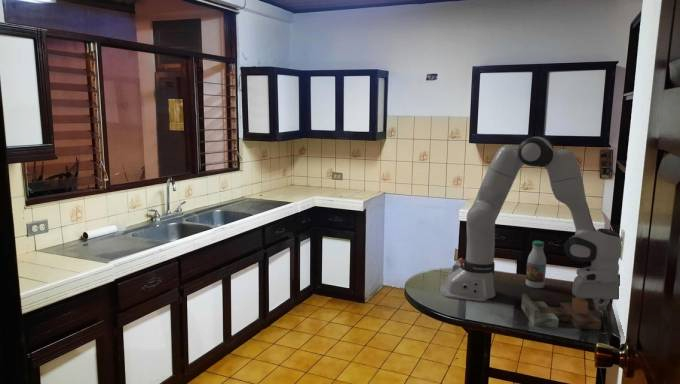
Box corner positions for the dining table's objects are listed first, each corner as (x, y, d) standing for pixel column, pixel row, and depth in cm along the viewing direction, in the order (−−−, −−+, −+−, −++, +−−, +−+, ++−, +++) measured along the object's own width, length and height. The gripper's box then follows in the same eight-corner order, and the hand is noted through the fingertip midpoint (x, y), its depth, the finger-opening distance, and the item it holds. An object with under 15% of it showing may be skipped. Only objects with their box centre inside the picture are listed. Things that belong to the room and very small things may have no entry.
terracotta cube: (575, 313, 177) (576, 301, 176) (571, 309, 181) (572, 297, 180) (586, 314, 177) (588, 302, 176) (582, 309, 181) (583, 298, 180)
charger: (477, 268, 236) (472, 277, 223) (458, 265, 240) (452, 274, 227) (478, 258, 236) (472, 267, 222) (459, 256, 239) (452, 264, 226)
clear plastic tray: (533, 326, 173) (534, 310, 172) (521, 308, 189) (522, 293, 188) (600, 329, 171) (602, 313, 170) (582, 310, 187) (583, 296, 186)
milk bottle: (528, 281, 218) (531, 238, 215) (546, 285, 214) (550, 241, 211) (523, 286, 212) (526, 242, 209) (541, 290, 208) (545, 245, 204)
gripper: (629, 271, 178) (625, 307, 180) (572, 269, 180) (568, 304, 182) (638, 277, 172) (634, 314, 174) (579, 275, 173) (575, 311, 176)
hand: (600, 309), depth 178 cm, fingers closed
